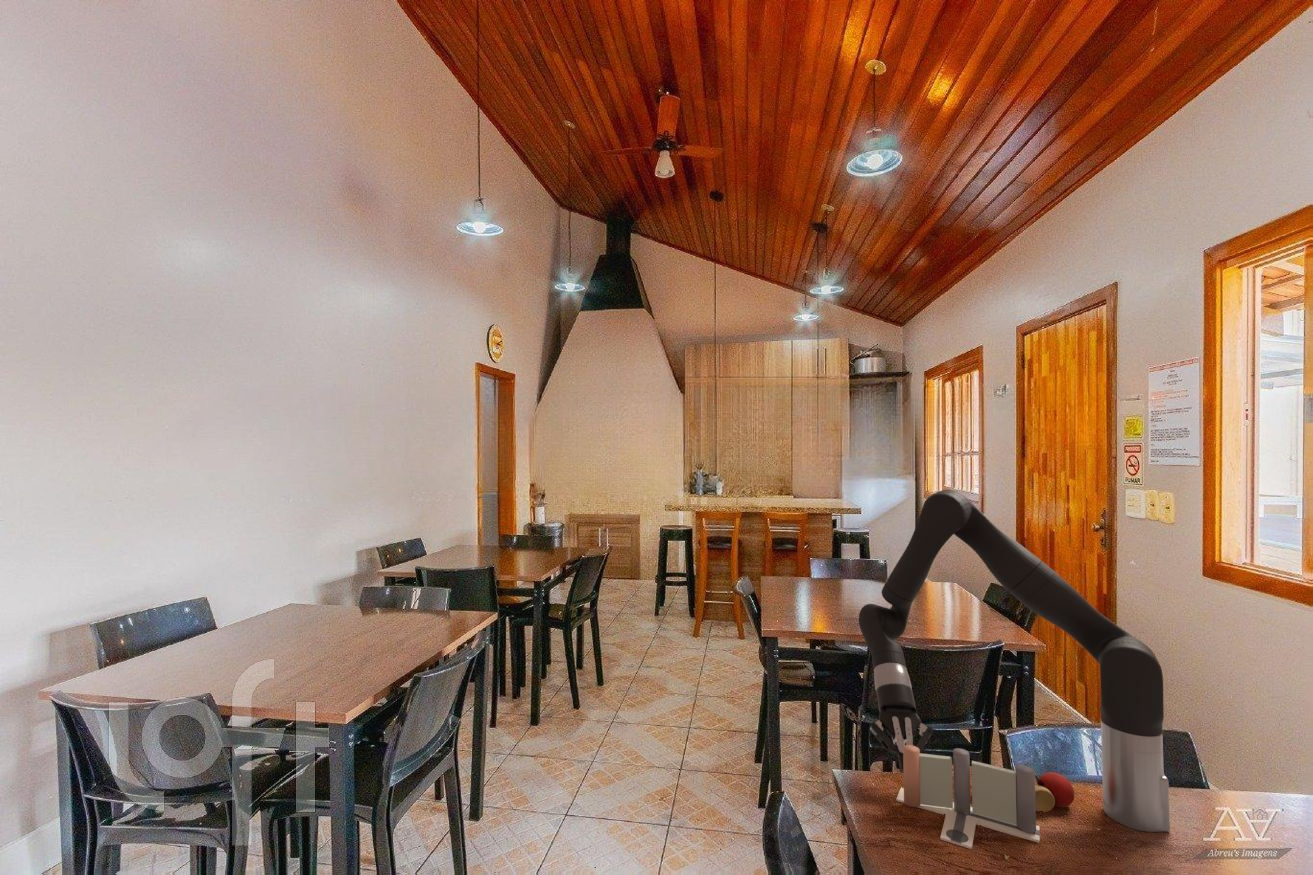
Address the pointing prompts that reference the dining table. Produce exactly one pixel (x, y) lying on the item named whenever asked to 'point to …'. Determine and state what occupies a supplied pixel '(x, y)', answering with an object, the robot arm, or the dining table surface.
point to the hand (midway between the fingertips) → (909, 775)
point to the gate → (927, 778)
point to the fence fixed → (995, 791)
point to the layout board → (971, 825)
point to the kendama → (1052, 792)
